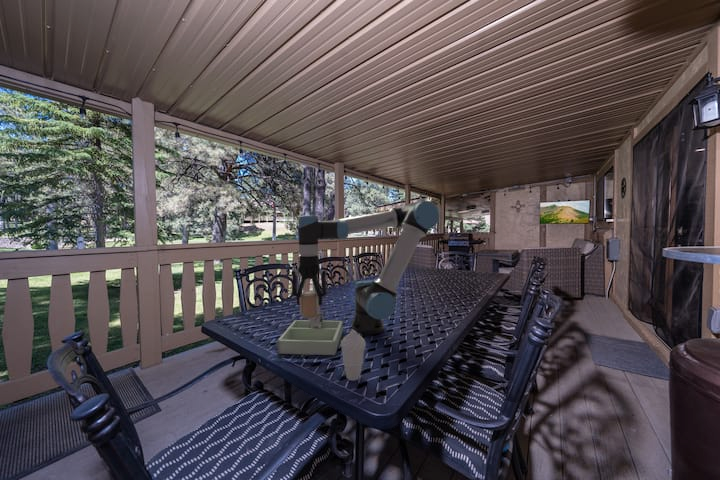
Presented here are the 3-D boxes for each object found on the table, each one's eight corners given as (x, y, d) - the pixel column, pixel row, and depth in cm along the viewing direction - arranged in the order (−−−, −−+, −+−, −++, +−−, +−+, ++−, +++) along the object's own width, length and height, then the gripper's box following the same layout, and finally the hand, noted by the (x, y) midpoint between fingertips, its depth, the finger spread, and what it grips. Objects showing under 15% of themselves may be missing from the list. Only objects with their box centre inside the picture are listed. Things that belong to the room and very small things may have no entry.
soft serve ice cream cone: (340, 370, 92) (339, 324, 91) (364, 369, 92) (364, 323, 92) (340, 385, 83) (340, 334, 82) (367, 383, 84) (367, 333, 83)
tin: (324, 333, 121) (324, 310, 121) (321, 338, 115) (321, 315, 115) (311, 332, 122) (310, 310, 121) (307, 338, 116) (307, 315, 115)
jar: (319, 313, 110) (318, 291, 109) (315, 318, 104) (315, 294, 103) (304, 313, 110) (304, 291, 110) (300, 318, 104) (299, 294, 104)
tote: (342, 333, 123) (342, 320, 122) (335, 357, 101) (334, 341, 101) (295, 332, 124) (295, 320, 124) (277, 356, 102) (277, 340, 102)
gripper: (334, 253, 109) (335, 310, 110) (288, 254, 110) (289, 309, 111) (331, 256, 101) (332, 316, 103) (281, 256, 103) (283, 316, 104)
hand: (309, 312), depth 107 cm, fingers closed on jar, 6 cm apart
